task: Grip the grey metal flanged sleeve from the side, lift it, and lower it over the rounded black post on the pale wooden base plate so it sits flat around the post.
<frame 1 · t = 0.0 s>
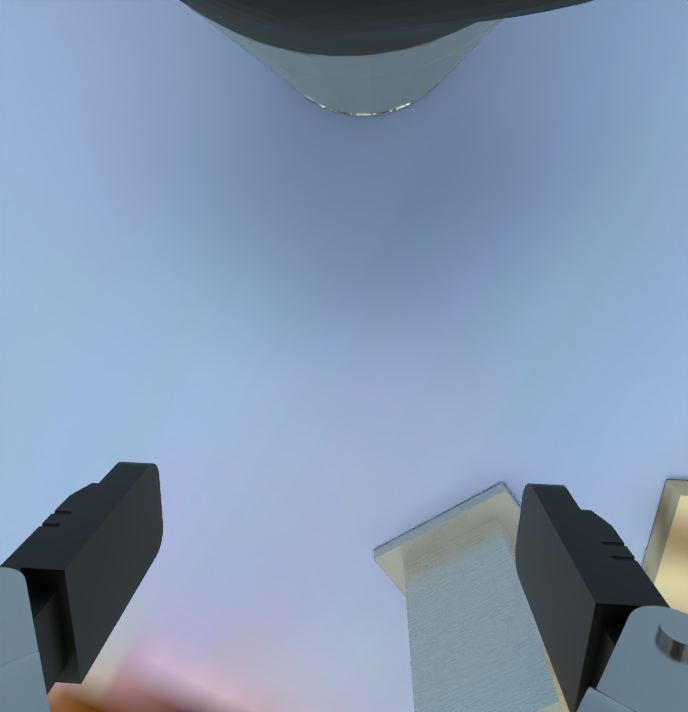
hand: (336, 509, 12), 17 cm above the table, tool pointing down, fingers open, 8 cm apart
sleeve: (474, 567, 34), on the table
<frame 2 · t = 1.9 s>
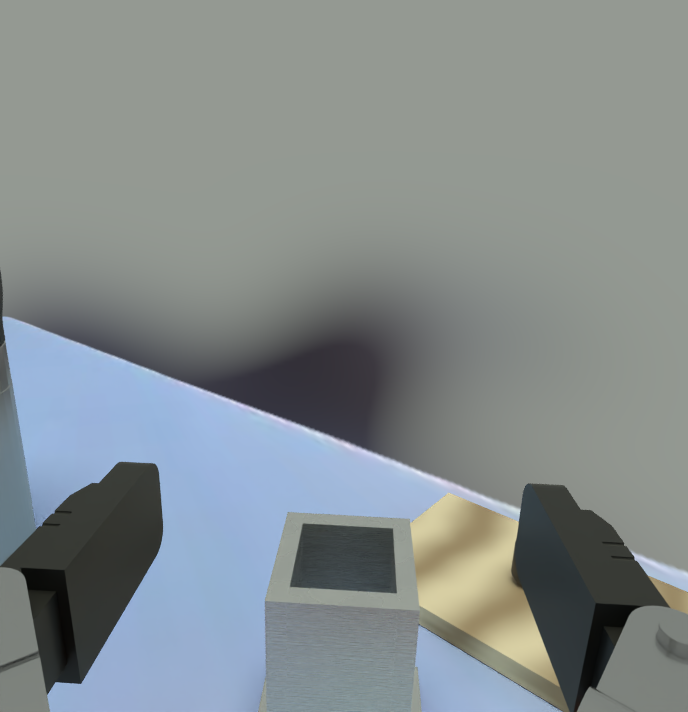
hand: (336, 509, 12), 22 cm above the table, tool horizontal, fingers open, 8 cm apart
base plate: (519, 598, 40), on the table
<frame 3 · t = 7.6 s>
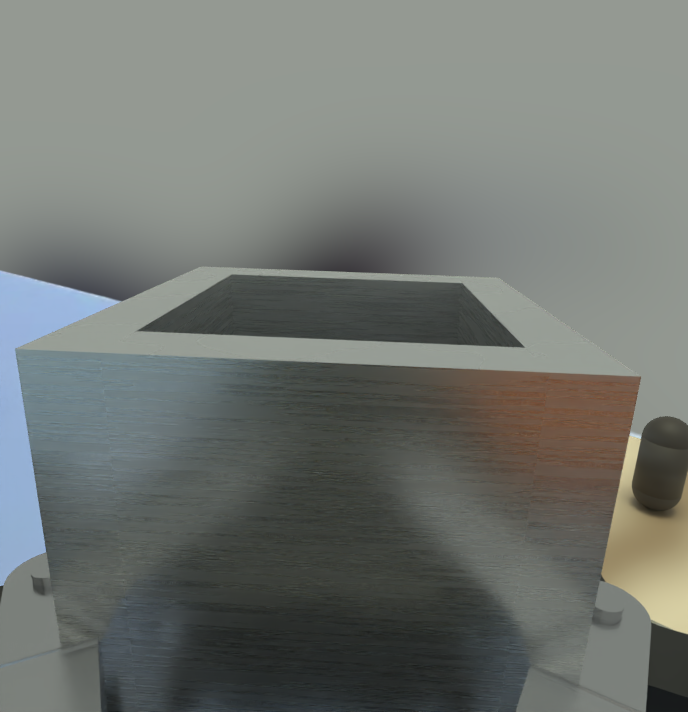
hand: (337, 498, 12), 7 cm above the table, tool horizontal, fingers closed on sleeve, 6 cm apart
base plate: (645, 538, 23), on the table
when the fingers open (10 cm above the table, at t = 15.9 s): sleeve drops 1 cm, resting on base plate.
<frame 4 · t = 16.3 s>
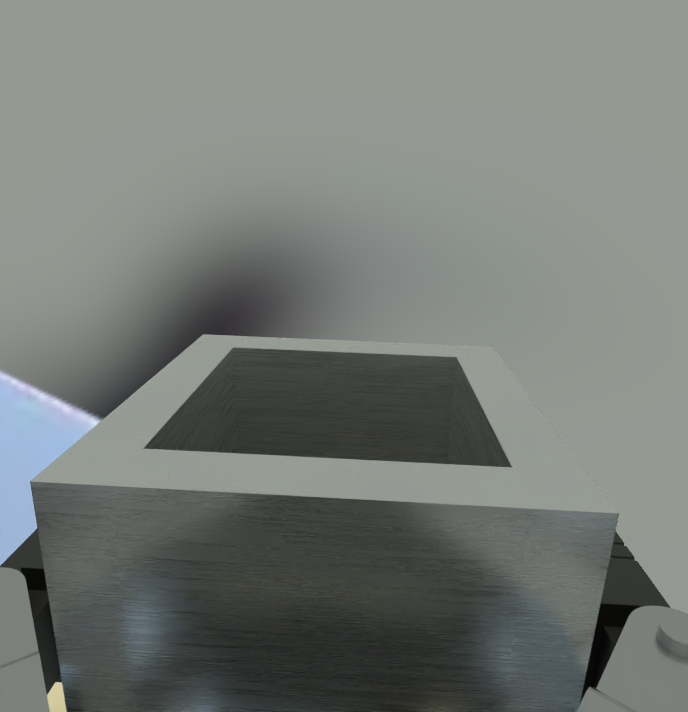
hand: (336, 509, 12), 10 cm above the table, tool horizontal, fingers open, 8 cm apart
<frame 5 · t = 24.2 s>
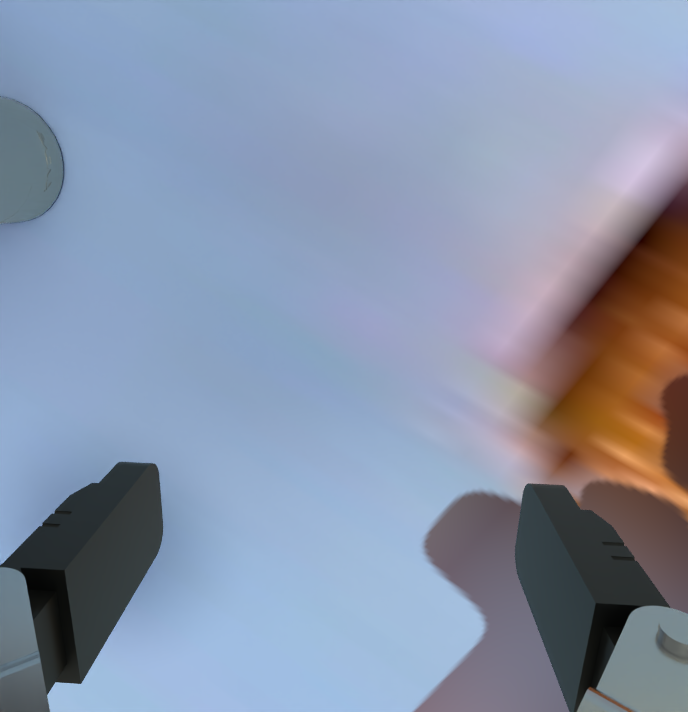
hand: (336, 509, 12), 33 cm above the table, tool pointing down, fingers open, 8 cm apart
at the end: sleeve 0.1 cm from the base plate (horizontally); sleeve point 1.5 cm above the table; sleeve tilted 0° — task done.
